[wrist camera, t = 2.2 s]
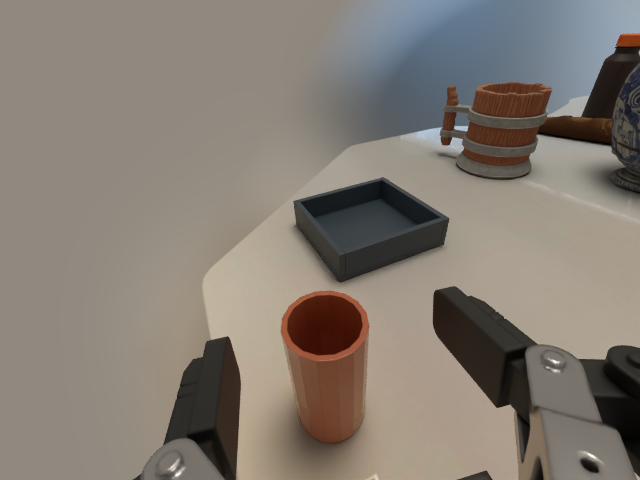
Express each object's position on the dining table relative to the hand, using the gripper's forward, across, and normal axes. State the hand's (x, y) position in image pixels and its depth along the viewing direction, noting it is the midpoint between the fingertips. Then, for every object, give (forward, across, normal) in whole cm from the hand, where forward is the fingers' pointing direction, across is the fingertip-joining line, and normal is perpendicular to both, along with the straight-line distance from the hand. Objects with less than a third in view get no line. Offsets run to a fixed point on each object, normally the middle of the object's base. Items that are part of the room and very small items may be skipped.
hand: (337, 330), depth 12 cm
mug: (+50, -44, +7) cm, 67 cm away
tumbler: (+9, 0, +16) cm, 18 cm away
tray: (+32, -12, +10) cm, 36 cm away
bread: (+54, -74, +7) cm, 92 cm away
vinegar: (+62, -86, +5) cm, 106 cm away
